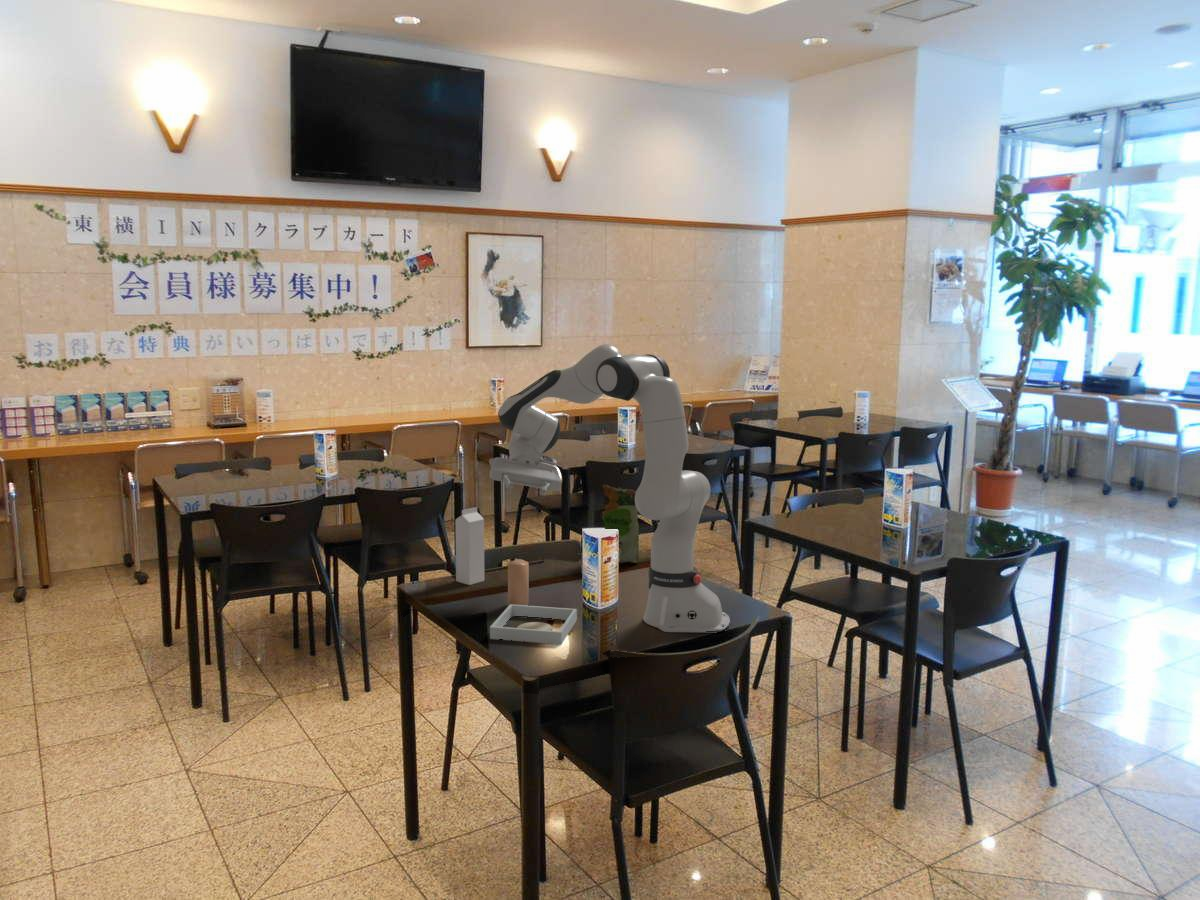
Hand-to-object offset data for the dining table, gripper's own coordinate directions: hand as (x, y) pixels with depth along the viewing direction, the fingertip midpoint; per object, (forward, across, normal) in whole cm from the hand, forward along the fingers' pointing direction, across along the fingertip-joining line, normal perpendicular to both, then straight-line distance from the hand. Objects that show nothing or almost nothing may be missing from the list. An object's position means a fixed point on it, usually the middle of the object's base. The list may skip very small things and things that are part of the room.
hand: (526, 489), depth 252 cm
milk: (-7, -7, +39) cm, 40 cm away
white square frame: (+33, +6, +20) cm, 39 cm away
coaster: (+33, +6, +20) cm, 39 cm away
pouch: (-23, +40, +35) cm, 57 cm away
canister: (+15, +4, +28) cm, 32 cm away
